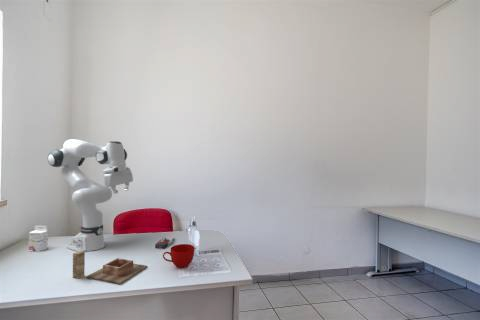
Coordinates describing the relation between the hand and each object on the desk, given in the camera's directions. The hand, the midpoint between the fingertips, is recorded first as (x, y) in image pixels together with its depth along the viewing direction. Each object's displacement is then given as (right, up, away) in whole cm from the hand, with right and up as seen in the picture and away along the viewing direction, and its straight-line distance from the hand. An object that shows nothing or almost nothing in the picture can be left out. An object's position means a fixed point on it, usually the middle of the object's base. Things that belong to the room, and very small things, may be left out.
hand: (121, 191), depth 154 cm
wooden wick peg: (-10, -39, -25) cm, 47 cm away
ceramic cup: (+36, -40, -11) cm, 55 cm away
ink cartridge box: (-56, -38, +9) cm, 68 cm away
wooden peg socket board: (+7, -39, -20) cm, 44 cm away
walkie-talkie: (+19, -39, +25) cm, 50 cm away
